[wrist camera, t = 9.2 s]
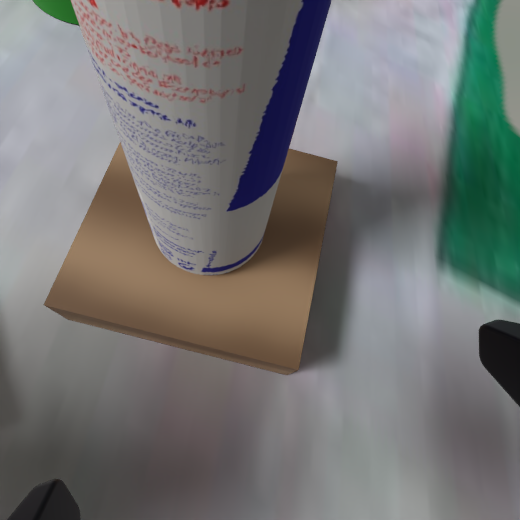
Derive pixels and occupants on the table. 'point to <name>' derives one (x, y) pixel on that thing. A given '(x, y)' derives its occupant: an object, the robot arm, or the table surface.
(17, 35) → the table surface
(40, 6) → the motor
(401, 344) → the table surface
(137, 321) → the stand
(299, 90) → the beverage can
